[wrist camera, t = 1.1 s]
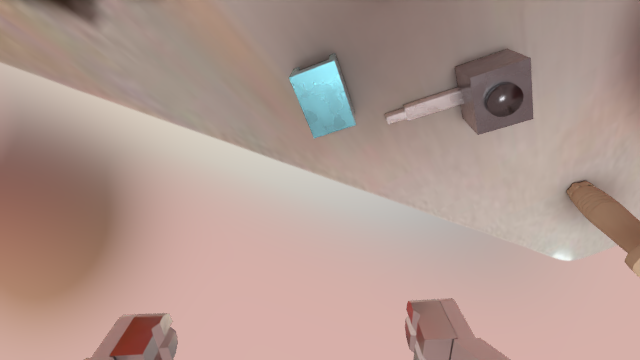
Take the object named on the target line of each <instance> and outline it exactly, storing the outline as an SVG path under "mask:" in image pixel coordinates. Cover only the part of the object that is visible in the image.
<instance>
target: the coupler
mask: <svg viewBox="0 0 640 360" xmlns="http://www.w3.org/2000/svg"><path fill="white" fill-rule="evenodd" d="M455 71H456V78H457V84H458V87H456V88H453V89H450V90H447V91H444V92H441V93H438V94H435V95H432V96H429V97H426V98H423V99H420V100H417V101H414V102H410V103H407V104H404V105H403V108H401V109H398V110H395V111H392V112H389V113H386V114H385V116H386V119H387V122H388V124H391V123H394V122H397V121H400V120H404V119H407V121H410V120H413V119H416V118H419V117H423V116H426V115H429V114H432V113H435V112H438V111H442V110H445V109H448V108H451V107H454V106H457V105H461V109H462V116H463V119H464V120H465V121H466V122H467V123H468V124H469V126H470V127H471V128H472V129H473V130H474V131H475V132H476V133H477V134H478V135H479V134H483V133H486V132H489V131H493V130H496V129H500V128H503V127H507V126H510V125H513V124H517V123H520V122H524V121H527V120H531V119H533V103H532V80H531V58H530V57H527V56H524V55H522V54H519V53H517V52H514V51H511V50H509V49H505V50H502V51H499V52H497V53H494V54H491V55H488V56H485V57H482V58H479V59H476V60H473V61H470V62H467V63H464V64H462V65H459V66H456V67H455Z"/></svg>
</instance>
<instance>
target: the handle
mask: <svg viewBox="0 0 640 360" xmlns="http://www.w3.org/2000/svg"><path fill="white" fill-rule="evenodd" d="M593 186H594V185H592V184H591V183H589V182H587V181H583V182H580V183H573V184H572V186H571V187H570V188H569V189H568V190H567V194H568V195H569V196H570V199H571V200H572V201H573V203H574V204H575V206H576V207H577V208H578V209H579V211H580V212H581V213H582V214H583V215H584V216H585V217H586V218H587V219H588V220H589V221H590V222H591V223H592V224H594V225H595V226H596V227H597V228H598V229H600V230H601V231H602V232H603V233H604V234H606V235H607V236H608V237H609V238H610V239H612V240H613V241H614V242H615V243H616V244H618V245H619V246H620V247H621V248H623V249H624V250H625V251H626V252H627V253H628V255H627V257H626V259H625V263H626V264H627V265H628V266H629V268H630V269H631V270H632V271H633V272H634V273H635V274H636V275H637V276H639V277H640V221H639V220H638V219H637V218H636V217H634V216H633V215H632V214H631V213H630V212H629V211H628V210H627V209H626V208H625V207H623V206H622V205H621V204H620V203H619V202H617V201H616V200H615V199H613V198H612V197H611V196H609V195H608V194H606V193H605V192H603V191H602V190H600V189H598V188H596V187H593Z"/></svg>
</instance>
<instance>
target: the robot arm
mask: <svg viewBox="0 0 640 360" xmlns="http://www.w3.org/2000/svg"><path fill="white" fill-rule="evenodd" d="M406 310H407V312H408V317H407V318H406V321H405V330H406V338H407V342H408V346H409V349H410V350H411V351H413V352H414V360H510V359H509V358H507V357H506V356H505V355H503V354H502V353H501V352H499V351H498V350H496V349H495V348H493V347H492V346H491V345H489V344H488V343H486V342H485V341H484V340H482V339H481V338H475V336H474V334H473V332H472V331H471V329H470V327H469V325H468V323H467V322H466V320H465V318H464V316H463V314H462V313H461V311H460V309H459V307H458V305H457V304H456V302H455V300H454V299H452V298H451V299H450V298H449V299H437V300H436V299H432V300H416V301H408V303H407V309H406ZM171 324H172V318H171V315H170V314H167V313H166V314H165V313H162V314H137V315H136V314H135V315H123V316H121V317H120V318H119V319H118V320H117V321H116V323H115V324H114V326H113V327H112V329H111V330H110V331H109V333H108V334H107V336H106V337H105V339H104V340H103V342H102V343H101V344H100V346H99V347H98V349H97V350H96V352H95V353H94V354H93V356H92V357H91V358H86V359H84V360H173V358H174V356H175V353H176V349H177V344H178V341H177V334H176V331H175V330H174V329H172V328H171V327H170V326H171Z"/></svg>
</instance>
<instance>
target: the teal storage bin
mask: <svg viewBox="0 0 640 360" xmlns="http://www.w3.org/2000/svg"><path fill="white" fill-rule="evenodd" d="M289 79H290V81H291V84H292V86H293V89H294V91H295V93H296V96H297V98H298V101H299V103H300V105H301V108H302V110H303V113H304V115H305V117H306V120H307V122H308V125H309V127H310V130H311V132H312V134H313V137H314V138H317V137H320V136H323V135H326V134H329V133H332V132H335V131H339V130H342V129H345V128H348V127H351V126H354V125H356V121H355V112H354V109H353V106H352V103H351V100H350V97H349V94H348V91H347V88H346V85H345V82H344V79H343V76H342V73H341V70H340V67H339V64H338V61H337V58H336V55H335V53H334V54H332V55H330V56H329V59H328V60H326V61H323V62H321V63H318V64H315V65H313V66H310V67H307V68H305V69H302V70H300V68H299V67H298V68H295V69H294V70H293V72H292V73H291V75H290V77H289Z"/></svg>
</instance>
